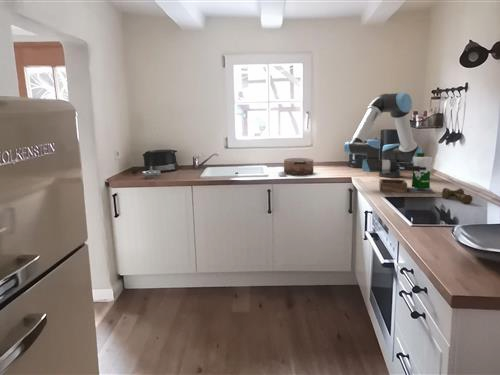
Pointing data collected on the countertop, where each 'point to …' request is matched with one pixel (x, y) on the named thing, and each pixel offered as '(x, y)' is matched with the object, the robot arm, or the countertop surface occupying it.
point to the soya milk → (421, 172)
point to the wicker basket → (298, 166)
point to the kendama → (457, 195)
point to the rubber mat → (420, 190)
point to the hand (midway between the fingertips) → (430, 167)
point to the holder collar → (392, 185)
